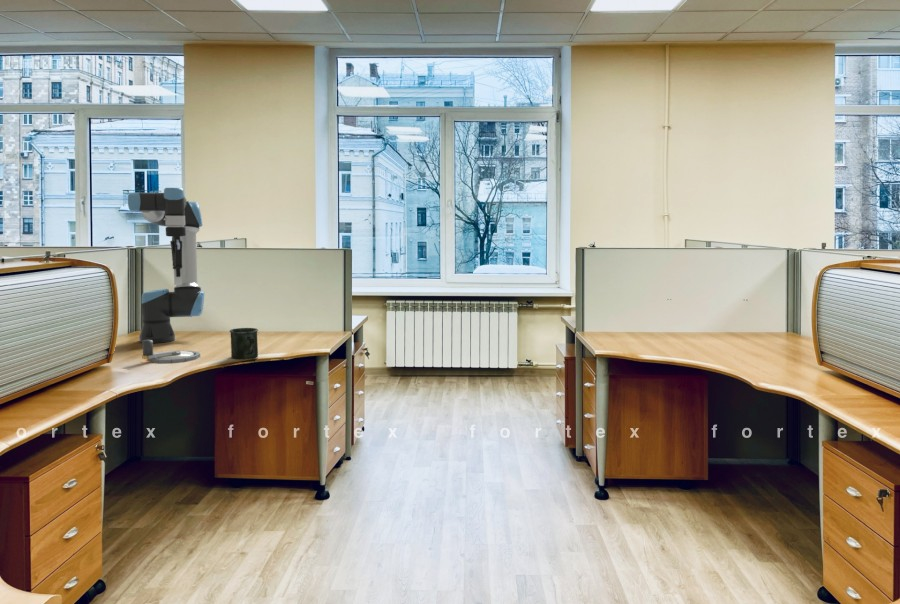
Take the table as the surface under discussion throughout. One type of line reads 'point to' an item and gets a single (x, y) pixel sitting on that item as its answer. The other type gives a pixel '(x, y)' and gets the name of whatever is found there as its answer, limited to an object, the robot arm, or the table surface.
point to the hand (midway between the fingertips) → (178, 284)
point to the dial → (162, 355)
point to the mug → (244, 344)
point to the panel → (196, 356)
